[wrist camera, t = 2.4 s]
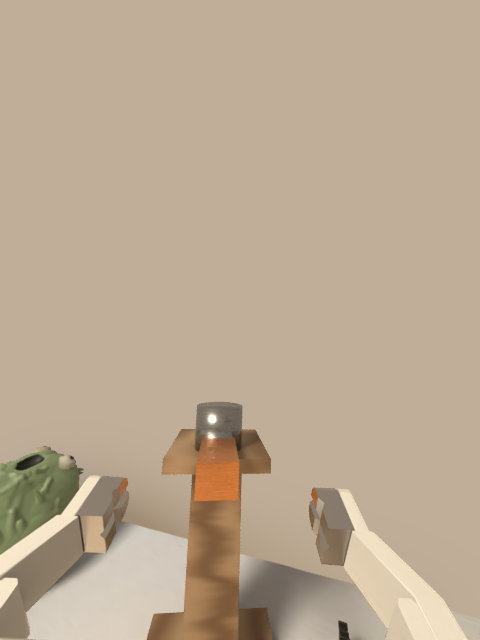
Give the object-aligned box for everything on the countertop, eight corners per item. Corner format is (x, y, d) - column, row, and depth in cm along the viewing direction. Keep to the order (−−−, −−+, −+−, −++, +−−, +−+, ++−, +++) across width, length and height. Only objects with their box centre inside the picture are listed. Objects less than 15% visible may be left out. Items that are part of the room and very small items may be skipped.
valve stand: (266, 624, 32) (267, 429, 38) (292, 772, 21) (287, 458, 26) (152, 631, 31) (169, 429, 36) (110, 792, 19) (144, 459, 25)
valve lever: (239, 439, 32) (240, 402, 33) (254, 499, 18) (255, 431, 19) (197, 439, 32) (199, 401, 33) (176, 501, 17) (182, 430, 18)
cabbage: (-128, 631, 30) (-81, 466, 34) (38, 536, 47) (56, 434, 51) (-81, 697, 25) (-31, 490, 29) (89, 562, 42) (105, 444, 46)
